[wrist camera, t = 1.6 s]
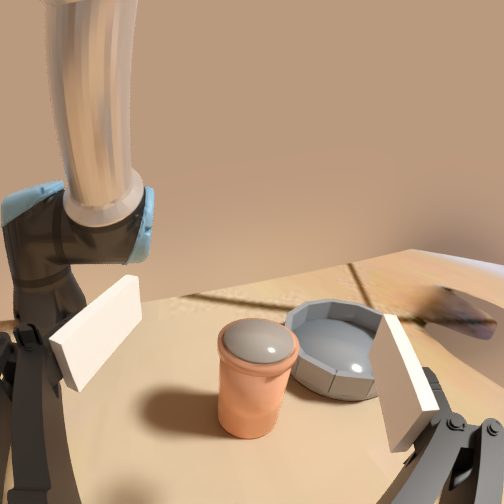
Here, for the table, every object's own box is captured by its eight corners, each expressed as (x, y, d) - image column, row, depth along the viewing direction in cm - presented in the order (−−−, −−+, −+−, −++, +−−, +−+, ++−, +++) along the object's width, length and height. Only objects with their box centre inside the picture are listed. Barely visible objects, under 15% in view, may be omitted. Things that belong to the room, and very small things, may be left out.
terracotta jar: (209, 397, 32) (210, 319, 28) (266, 388, 34) (280, 312, 30) (224, 446, 25) (229, 372, 21) (289, 432, 28) (314, 357, 23)
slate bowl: (262, 328, 47) (265, 306, 46) (354, 313, 54) (360, 294, 52) (317, 418, 30) (327, 395, 28) (420, 375, 36) (431, 354, 35)
